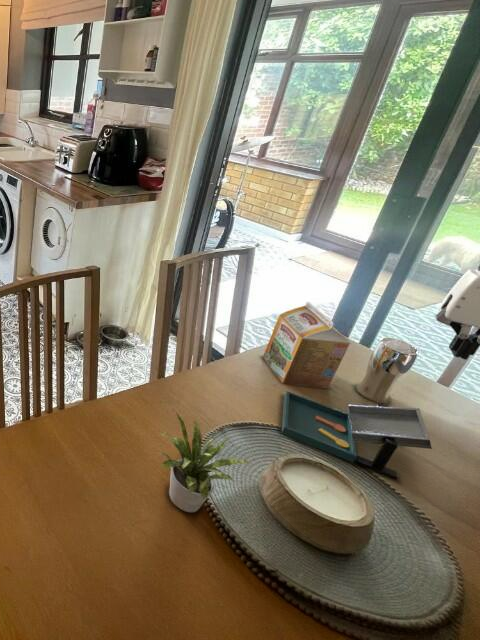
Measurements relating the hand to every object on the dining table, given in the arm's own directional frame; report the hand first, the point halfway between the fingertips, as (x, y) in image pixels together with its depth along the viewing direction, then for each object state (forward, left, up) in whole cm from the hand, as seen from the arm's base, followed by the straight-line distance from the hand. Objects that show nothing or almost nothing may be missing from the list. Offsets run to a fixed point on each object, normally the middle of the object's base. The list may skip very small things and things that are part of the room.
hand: (458, 354), depth 80 cm
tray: (+16, +8, -23) cm, 29 cm away
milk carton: (+20, -12, -23) cm, 33 cm away
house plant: (+37, +45, -23) cm, 63 cm away
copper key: (+13, +6, -23) cm, 27 cm away
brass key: (+13, +10, -23) cm, 28 cm away
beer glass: (+4, -14, -23) cm, 27 cm away
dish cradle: (+6, +8, -23) cm, 25 cm away
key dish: (+5, +8, -17) cm, 20 cm away
